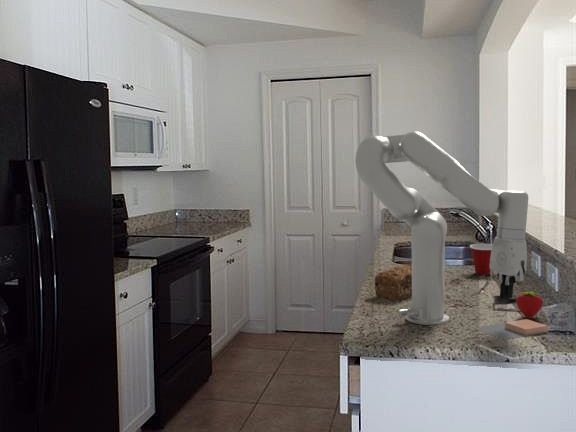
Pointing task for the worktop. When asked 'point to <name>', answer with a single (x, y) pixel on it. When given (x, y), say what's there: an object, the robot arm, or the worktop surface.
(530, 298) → the strawberry
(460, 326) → the worktop surface
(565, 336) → the worktop surface
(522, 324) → the tile
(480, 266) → the plastic cup
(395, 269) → the bread
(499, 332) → the mat
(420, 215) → the robot arm
